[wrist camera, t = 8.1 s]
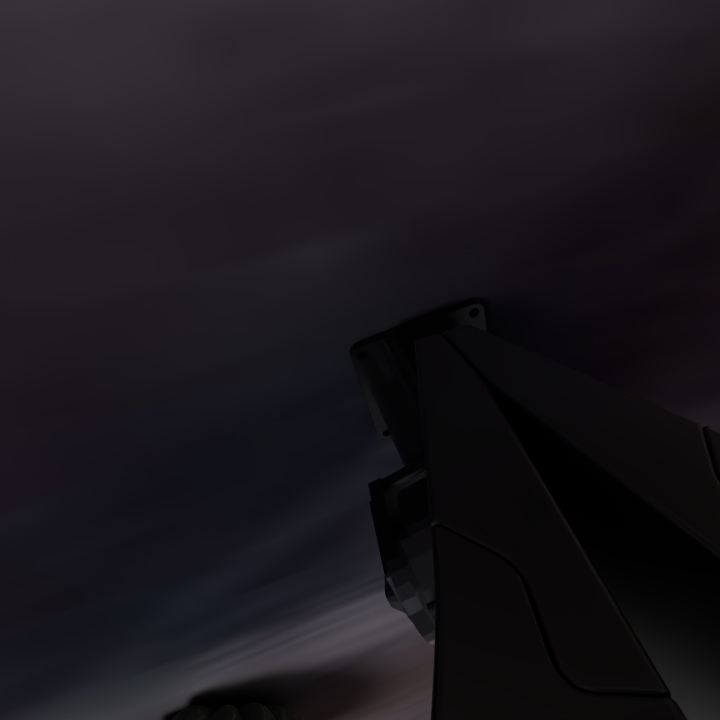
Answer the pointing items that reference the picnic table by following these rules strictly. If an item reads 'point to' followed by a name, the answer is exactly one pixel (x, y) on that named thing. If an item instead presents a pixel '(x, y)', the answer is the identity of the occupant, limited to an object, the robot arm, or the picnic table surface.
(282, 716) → the squash
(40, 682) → the picnic table surface
